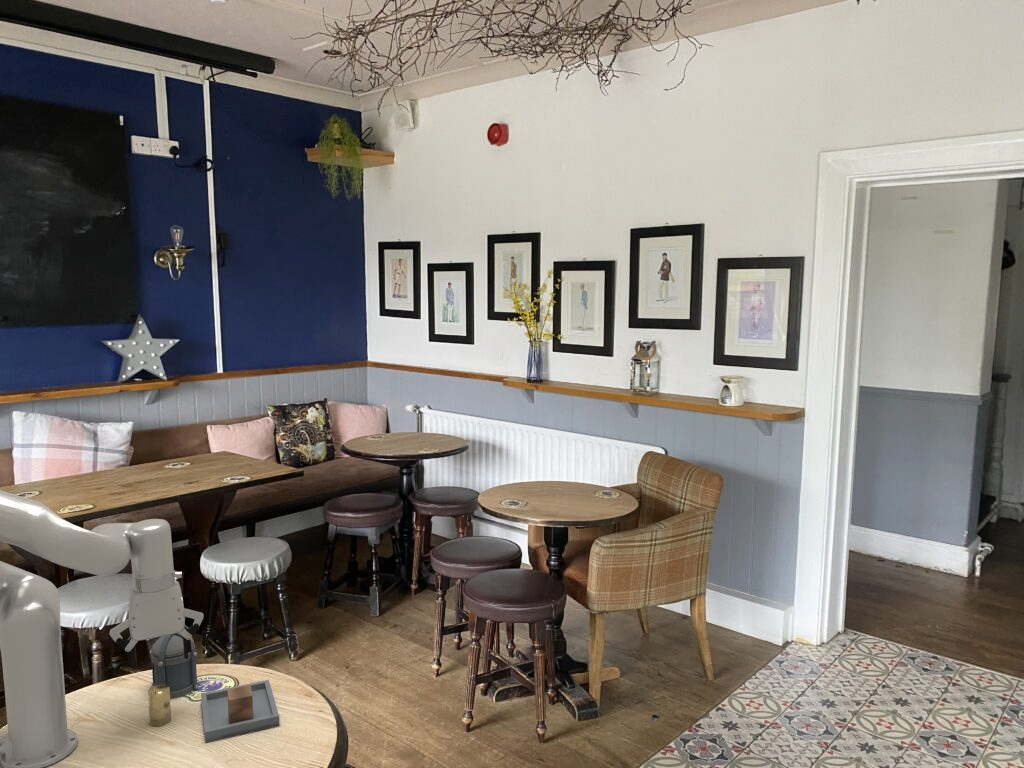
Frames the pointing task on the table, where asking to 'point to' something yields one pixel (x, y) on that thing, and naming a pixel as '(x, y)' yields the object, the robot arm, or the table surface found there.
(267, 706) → the tray
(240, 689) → the walnut block
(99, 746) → the table surface
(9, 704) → the robot arm
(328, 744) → the table surface
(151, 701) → the brass cylinder
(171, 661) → the lantern
